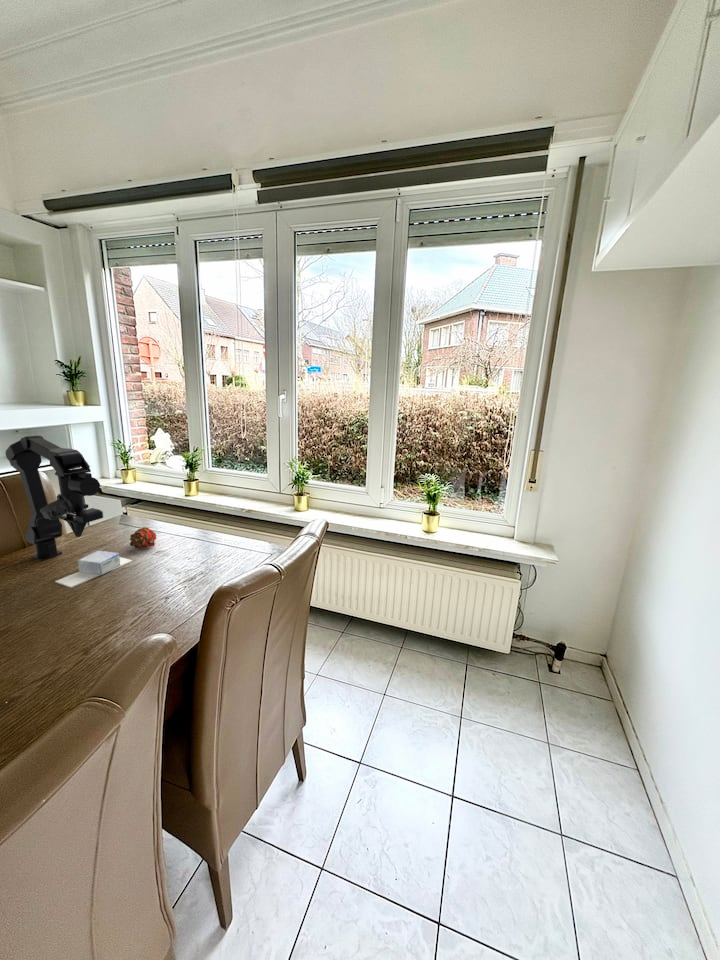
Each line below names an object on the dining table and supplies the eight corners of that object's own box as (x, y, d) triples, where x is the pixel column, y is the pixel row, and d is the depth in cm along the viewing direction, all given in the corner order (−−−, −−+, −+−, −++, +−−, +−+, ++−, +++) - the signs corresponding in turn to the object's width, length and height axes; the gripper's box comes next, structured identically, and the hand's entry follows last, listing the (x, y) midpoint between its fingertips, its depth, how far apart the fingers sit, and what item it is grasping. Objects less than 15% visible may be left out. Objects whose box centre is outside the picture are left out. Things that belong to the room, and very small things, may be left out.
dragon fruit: (140, 558, 138) (144, 550, 149) (160, 542, 140) (162, 535, 151) (122, 542, 135) (127, 535, 146) (143, 526, 137) (146, 520, 148)
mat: (55, 582, 117) (55, 581, 117) (117, 557, 135) (117, 556, 135) (70, 587, 114) (70, 586, 114) (132, 561, 132) (132, 560, 132)
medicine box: (78, 572, 123) (101, 575, 121) (76, 559, 122) (99, 563, 120) (99, 561, 130) (121, 564, 129) (97, 549, 129) (119, 552, 128)
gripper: (23, 492, 115) (32, 539, 119) (62, 501, 109) (70, 552, 112) (63, 484, 125) (70, 528, 129) (101, 492, 119) (107, 538, 122)
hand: (78, 536), depth 123 cm, fingers closed
